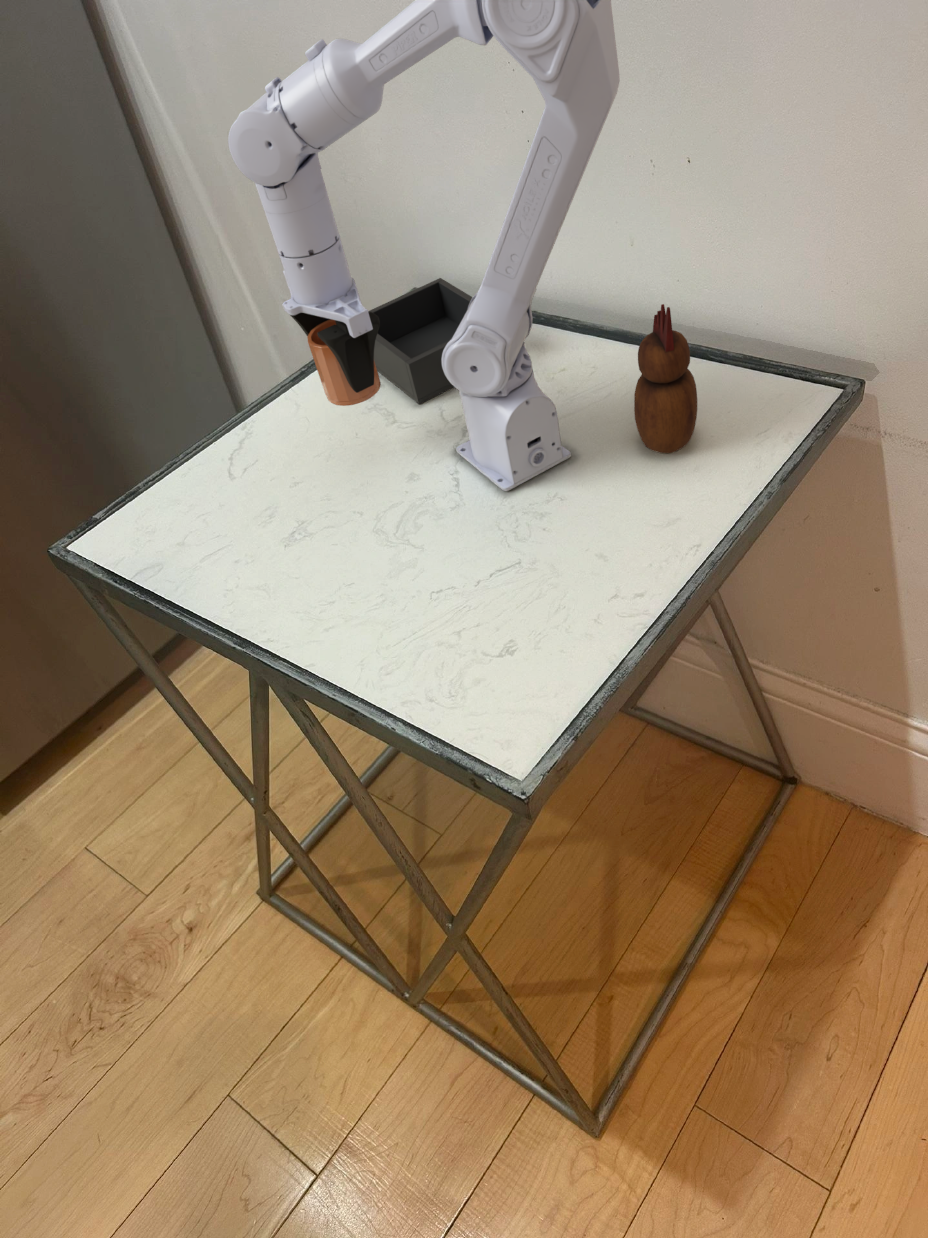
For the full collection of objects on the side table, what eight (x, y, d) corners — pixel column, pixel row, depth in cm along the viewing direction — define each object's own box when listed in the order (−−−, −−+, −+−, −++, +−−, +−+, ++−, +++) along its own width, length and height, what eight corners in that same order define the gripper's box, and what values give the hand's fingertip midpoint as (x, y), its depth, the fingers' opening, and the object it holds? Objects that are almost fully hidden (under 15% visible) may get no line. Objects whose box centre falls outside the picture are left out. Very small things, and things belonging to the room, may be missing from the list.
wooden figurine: (696, 461, 88) (694, 315, 78) (634, 463, 90) (624, 320, 79) (698, 419, 93) (697, 275, 82) (639, 421, 94) (630, 281, 84)
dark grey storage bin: (513, 357, 107) (506, 316, 104) (419, 404, 104) (408, 364, 101) (448, 315, 117) (440, 277, 113) (360, 357, 114) (349, 319, 110)
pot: (390, 388, 94) (374, 329, 89) (341, 412, 92) (322, 353, 88) (365, 368, 97) (348, 310, 93) (317, 391, 96) (298, 333, 91)
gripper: (238, 238, 88) (285, 366, 97) (302, 285, 78) (347, 421, 88) (305, 210, 90) (344, 338, 99) (375, 252, 80) (411, 389, 90)
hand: (349, 375), depth 94 cm, fingers closed on pot, 5 cm apart
